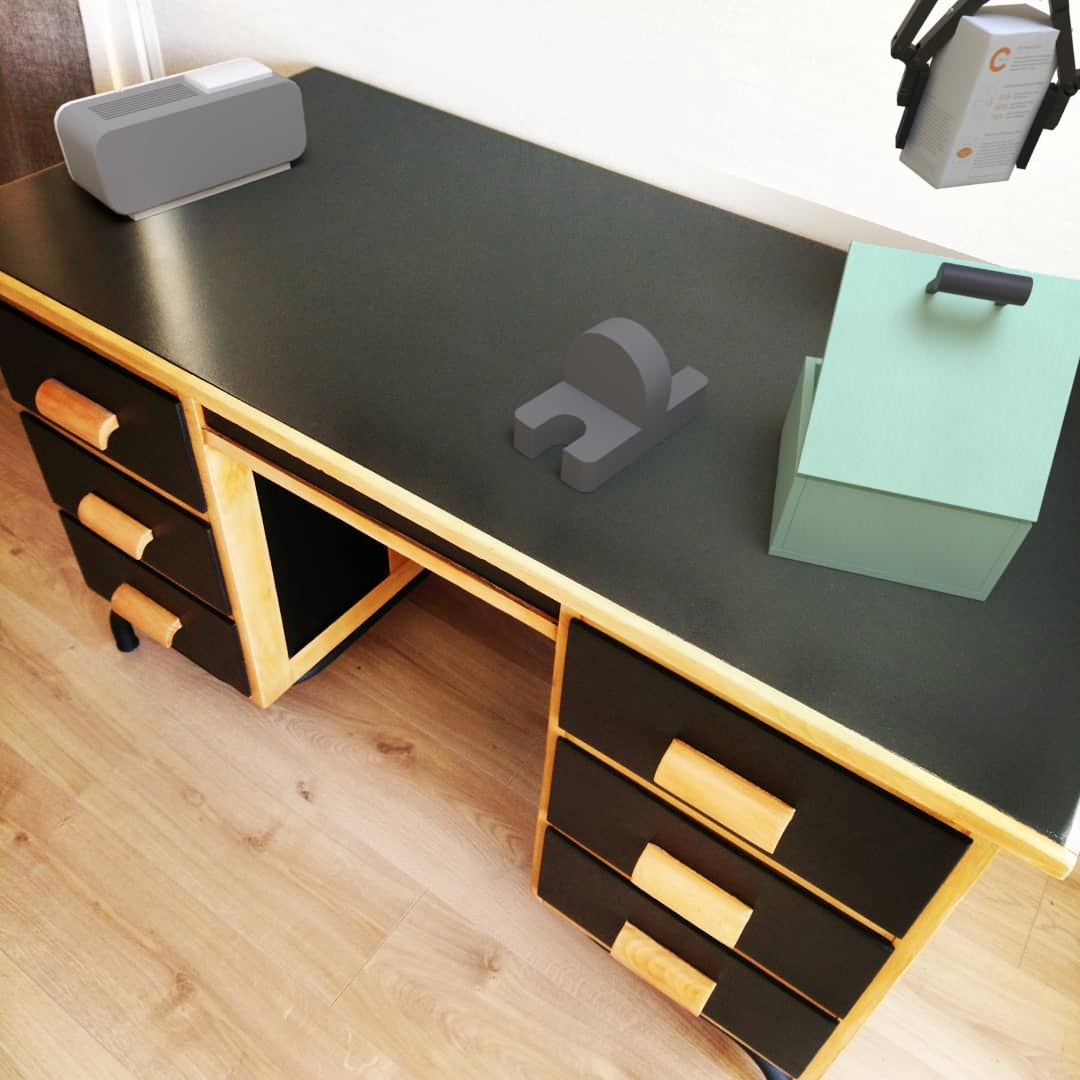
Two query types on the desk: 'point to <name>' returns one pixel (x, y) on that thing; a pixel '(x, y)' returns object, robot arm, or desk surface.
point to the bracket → (609, 404)
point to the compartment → (882, 523)
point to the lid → (944, 380)
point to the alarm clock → (182, 136)
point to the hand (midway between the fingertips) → (959, 152)
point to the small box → (982, 97)
